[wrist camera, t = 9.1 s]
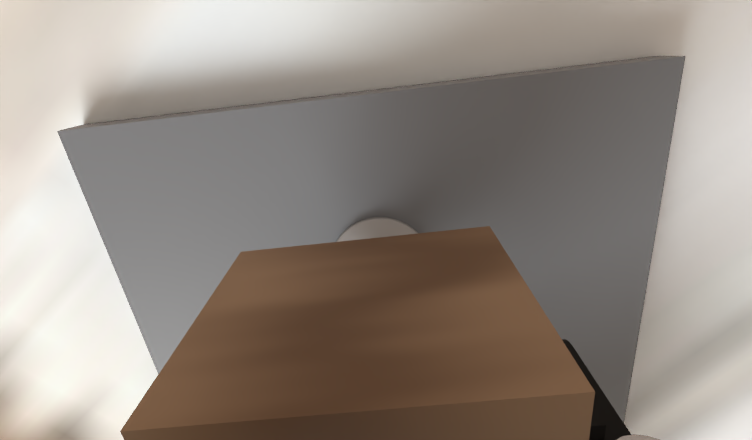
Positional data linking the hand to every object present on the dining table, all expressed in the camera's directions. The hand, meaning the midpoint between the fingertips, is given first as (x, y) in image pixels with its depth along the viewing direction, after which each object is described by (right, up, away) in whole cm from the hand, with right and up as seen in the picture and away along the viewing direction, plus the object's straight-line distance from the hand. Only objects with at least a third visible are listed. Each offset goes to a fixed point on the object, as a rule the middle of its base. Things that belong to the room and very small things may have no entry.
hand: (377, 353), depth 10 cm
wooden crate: (0, 0, 0) cm, 0 cm away
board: (+1, -3, +8) cm, 9 cm away
